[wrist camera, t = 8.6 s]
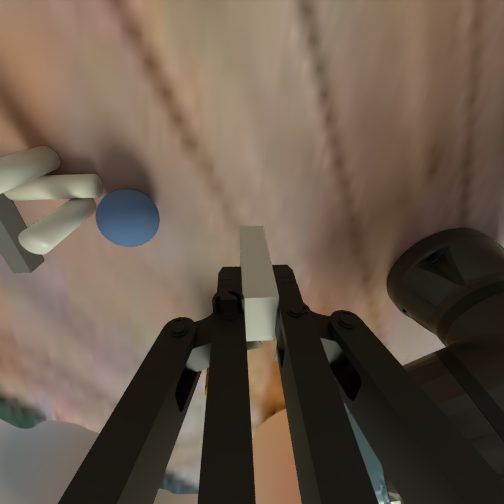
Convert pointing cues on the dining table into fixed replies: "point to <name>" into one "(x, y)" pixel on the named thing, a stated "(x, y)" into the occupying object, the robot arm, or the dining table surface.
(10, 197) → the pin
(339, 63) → the dining table surface
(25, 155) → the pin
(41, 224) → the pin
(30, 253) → the stopper bar
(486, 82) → the dining table surface
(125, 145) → the dining table surface
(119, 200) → the ball
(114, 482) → the robot arm
